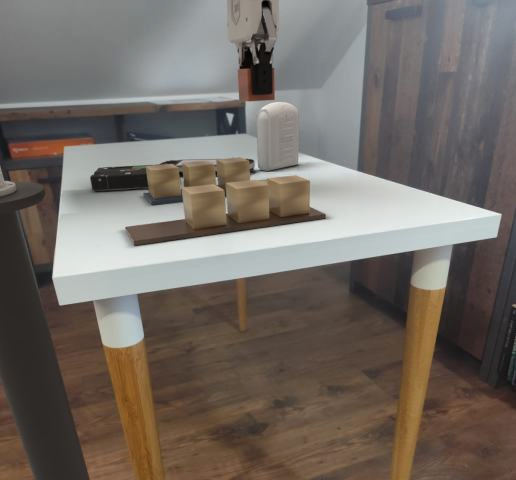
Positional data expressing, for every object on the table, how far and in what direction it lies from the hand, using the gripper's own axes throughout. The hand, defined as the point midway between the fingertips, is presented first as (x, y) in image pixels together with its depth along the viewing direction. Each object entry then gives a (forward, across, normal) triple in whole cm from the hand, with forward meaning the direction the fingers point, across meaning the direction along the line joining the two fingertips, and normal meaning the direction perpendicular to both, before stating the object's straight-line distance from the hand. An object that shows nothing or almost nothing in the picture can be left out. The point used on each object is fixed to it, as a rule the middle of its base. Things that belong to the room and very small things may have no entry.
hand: (256, 92), depth 77 cm
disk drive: (+15, -16, -18) cm, 29 cm away
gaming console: (+15, -21, -3) cm, 26 cm away
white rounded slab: (+15, -19, +12) cm, 27 cm away
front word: (+15, +18, -12) cm, 26 cm away
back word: (+15, -2, -7) cm, 16 cm away
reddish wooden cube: (+1, 0, 0) cm, 1 cm away
